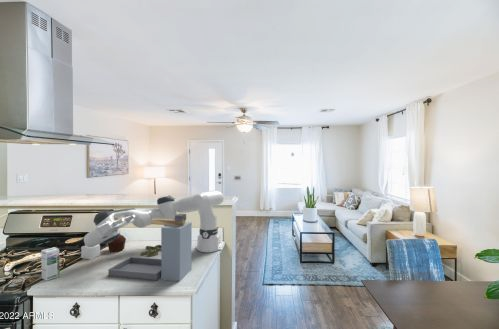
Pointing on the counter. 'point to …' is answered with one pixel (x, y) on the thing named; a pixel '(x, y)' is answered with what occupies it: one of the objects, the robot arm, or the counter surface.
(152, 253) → the cookie cutter
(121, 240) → the muffin
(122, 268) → the charcoal tray
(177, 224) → the oak handled hammer
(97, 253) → the medicine bottle
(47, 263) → the syrup box
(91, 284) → the counter surface
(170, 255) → the slate stand
